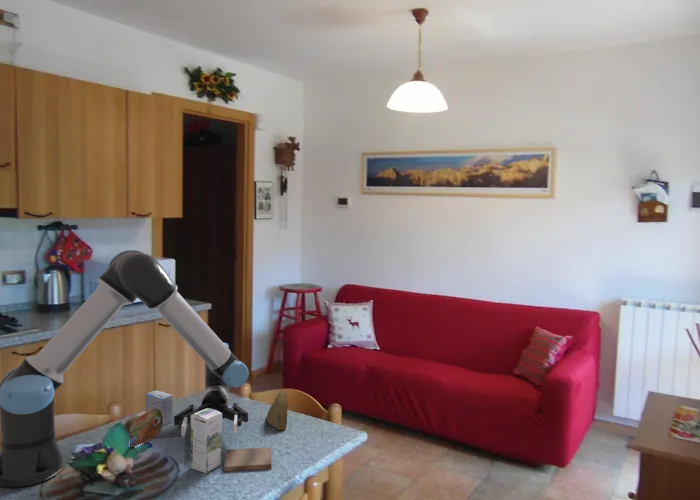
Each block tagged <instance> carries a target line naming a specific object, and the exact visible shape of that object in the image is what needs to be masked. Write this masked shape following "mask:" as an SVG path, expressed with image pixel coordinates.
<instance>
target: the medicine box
mask: <svg viewBox="0 0 700 500" xmlns="http://www.w3.org/2000/svg"><path fill="white" fill-rule="evenodd" d="M146 409H159V410H160V411H161V413H162V417H163V422H162V426H165V425H167V424H170V423H172V422H173V423H174V395H173V394H171V393H167V392H164V391H161V390H152V391H150V392H148V393H145V410H146Z"/></svg>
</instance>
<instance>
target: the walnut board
mask: <svg viewBox="0 0 700 500" xmlns="http://www.w3.org/2000/svg"><path fill="white" fill-rule="evenodd" d="M225 451H226V452H225V459H224V466H223V471H224V472H234V471H237V472H238V471H252V470H253V471H254V470H255V471H256V470H271V469H272V448H271V446H270V447H256V448H253V447H252V448H232V449H225Z"/></svg>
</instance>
